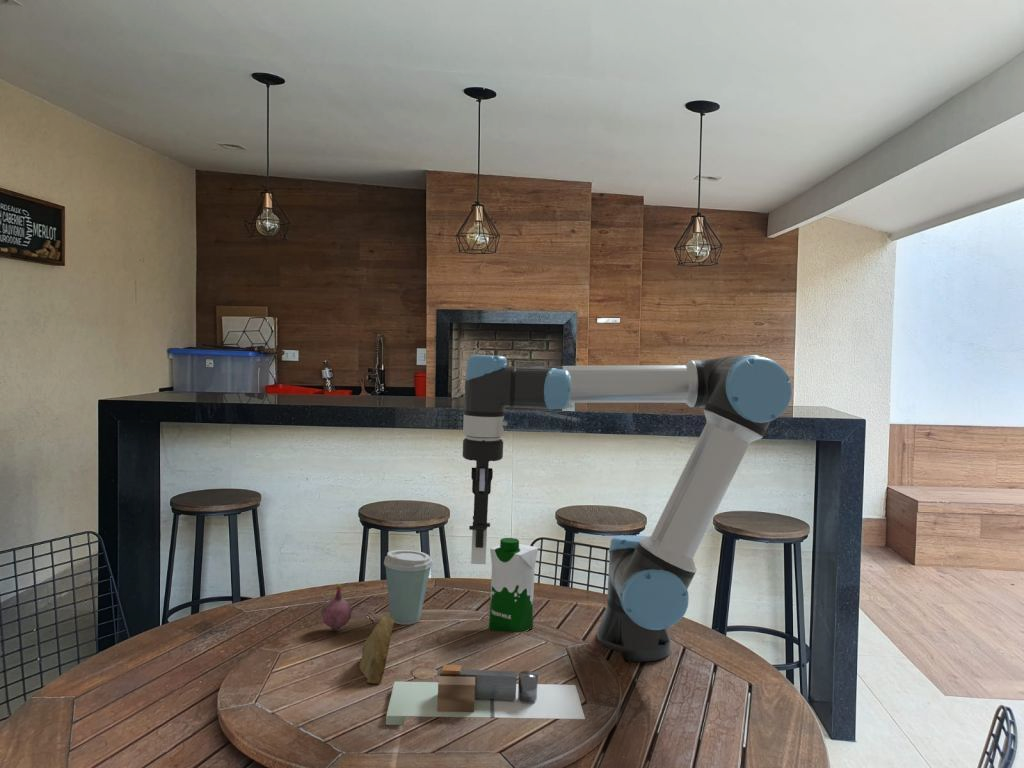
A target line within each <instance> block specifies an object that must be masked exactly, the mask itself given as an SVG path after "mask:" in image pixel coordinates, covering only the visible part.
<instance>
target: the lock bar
mask: <svg viewBox="0 0 1024 768" xmlns="http://www.w3.org/2000/svg"><path fill="white" fill-rule="evenodd" d="M517 675H518V676H517ZM439 676H454V677H475V698H480V699H501V700H516V684H517V677H518V684H519V685H518V699H519V700H520V701H522V702H534V701H536V700H537V684H539V683H538V679H539V678H538V677H539V675H538V673H537V672H536V671H532V670H522V671H519V674H517V671H509V670H490V669H489V670H488V669H486V670H485V669H468V668H467V669H465V668H462V665H461V664H460V665H459V664H443V666H442V667H440V669H439V674H438V677H439Z"/></svg>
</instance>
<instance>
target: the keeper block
mask: <svg viewBox="0 0 1024 768" xmlns="http://www.w3.org/2000/svg"><path fill="white" fill-rule="evenodd" d="M474 702H475V677H454V676H439V675H438V702H437V712H474Z"/></svg>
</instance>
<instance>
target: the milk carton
mask: <svg viewBox="0 0 1024 768" xmlns="http://www.w3.org/2000/svg"><path fill="white" fill-rule="evenodd" d="M489 551H490V559H491V578H490V579H491V581H490V602H489V619H488V620H489V621H488V622H489V623H488V630H489V629H490V630H494V631H493V632H510V633H511V632H512V633H513V632H515V633H516V632H517V633H525V632H524V631H526V630H528V629H530V628H532V627H533V628H534V611H533V610H534V589H535V586H534V585H535V569H536V562H537V556H538V551H539V547H537V546H532V545H528V544H522V543H520V540H519V539H518V538H513V537H504V538H501V539H500V543H499V544H498V545H496V546H493V547H491V548H490V549H489ZM533 628H532V629H533ZM490 630H489V631H490Z"/></svg>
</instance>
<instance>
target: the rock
mask: <svg viewBox="0 0 1024 768" xmlns="http://www.w3.org/2000/svg"><path fill="white" fill-rule="evenodd" d="M394 624H395V623H394V620H393V619H392V618H391V617H390V615H388V614H384V615H383V616H382V617H381V618H379V621H378V622H377V624H375V626H374V629H372V631H371V633H370V634H369V636H368V637H367V638H366V640H365V642H364V644H363V646H362V648H361V649H362V650H361V651H362V652H361V653H362V654H361V658H360V659H359V660H360V663H359V665H358V667H359V670H360V671H361V673H363V676H364V677H365V678H366V682H367V683H368V684H377V685H378V684H381V683H382V681H383V675H384V673H385V669H386V664H387V663H386V661H387V658H388V655H389V654H388V653H389V650H390V644H391V637H392V632H393V627H394Z"/></svg>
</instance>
